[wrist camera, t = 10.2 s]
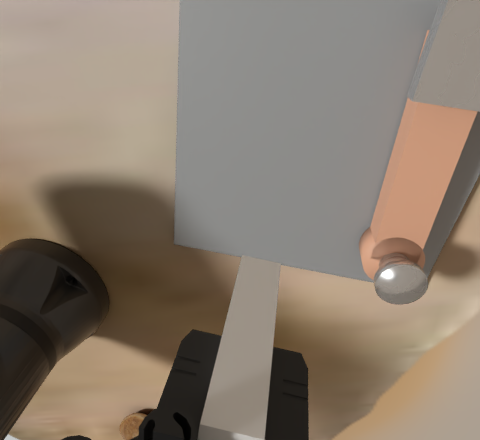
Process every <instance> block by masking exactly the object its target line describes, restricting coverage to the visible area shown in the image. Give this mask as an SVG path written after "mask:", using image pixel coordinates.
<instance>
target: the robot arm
mask: <svg viewBox="0 0 480 440" xmlns="http://www.w3.org/2000/svg"><path fill="white" fill-rule="evenodd" d="M280 266H281V263H276V262H272V261H267V260H262V259H258V258H253V257H249V256H244V255H242V258H241V262H240V266H239V270H238V274H237V278H236V282H235V286H234V290H233V294H232V298H231V302H230V306H229V310H228V314H227V318H226V322H225V326H224V330H223V334H222V336H219V335H215V334H210V333H206V332H202V331H197V330H192V331H191V332H190V333H189V334H188V335H187V336H186V337H185V338H184V339H183V340H182V341H181V344H180V347H179V350H178V352H177V355H176V358H175V360H174V363H173V366H172V369H171V371H170V374H169V377H168V380H167V382H166V385H165V388H164V390H163V393H162V396H161V399H160V401H159V404H158V407H157V409H154V410H153V411H152V412H151V413H149V414H148V415H147V416H146V417H145V418H144V420H143V421H142V423H141V424H140V426H139V435H138V436H136V437H134V438H132V439H130V440H309V436H308V368H307V366H306V363H305V361H304V359H303V356H302V354H301V353H297V352H293V351H289V350H284V349H280V348H276V347H273V342H274V332H275V321H276V310H277V299H278V288H279V277H280ZM108 309H109V298H108V293H107V290H106V288H105V286H104V284H103V282H102V280H101V279H100V277H99V276H98V274H97V273H96V272H95V271H94V270H93V268H92V267H91V266H90V265H89V264H88V263H86V262H85V261H84V260H83V259H82V258H80V257H79V256H78V255H76V254H75V253H73V252H71V251H70V250H68V249H66V248H64V247H62V246H59V245H57V244H54V243H51V242H48V241H44V240H38V239H22V240H17V241H14V242H11V243H10V244H8V245H6V246H5V247H4V248H2V249H1V250H0V440H4V439H5V437H6V436H7V434H8V433H9V431H10V430H11V428H12V427H13V426H14V424H15V423H16V421H17V420H18V418H19V417H20V415H21V414H22V412H23V411H24V409H25V408H26V407H27V405H28V404H29V402H30V401H31V399H32V398H33V396H34V395H35V393H36V392H37V390H38V389H39V388H40V386H41V385H42V383H43V382H44V380H45V379H46V377H47V376H48V374H49V373H50V371H51V370H52V369H53V367H54V366H55V364H56V363H57V362H58V361H59V360H60V359H61V358H63V357H64V356H65V355H67V354H68V353H69V352H71V351H72V350H73V349H74V348H76V347H77V346H78V345H79V344H81V343H82V342H83V341H84V340H85V339H87V338H89V337H90V336H91V335H92V334H94V332H95V331H96V330H97V329H98V328H99V326H100V324H101V323H102V321H103V320H104V318H105V317H106V315H107V312H108ZM62 440H91V439H90V438H87V437H84V436H80V435H78V436H69V437H66V438H64V439H62Z"/></svg>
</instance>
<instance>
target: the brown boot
mask: <svg viewBox="0 0 480 440" xmlns="http://www.w3.org/2000/svg"><path fill="white" fill-rule="evenodd" d="M146 416H147V415H146V414H142V413H133V414H131V415H129V416H127V417H126V418H125V419H124V420H123V421H122V422H121V424H120V434H121V435H122V437H123V438H124V439H125V440H130V439H132V438H134V437H136V436H138V435H139V426H140V424H141V423H142V421H143V420H144V418H145V417H146Z"/></svg>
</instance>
